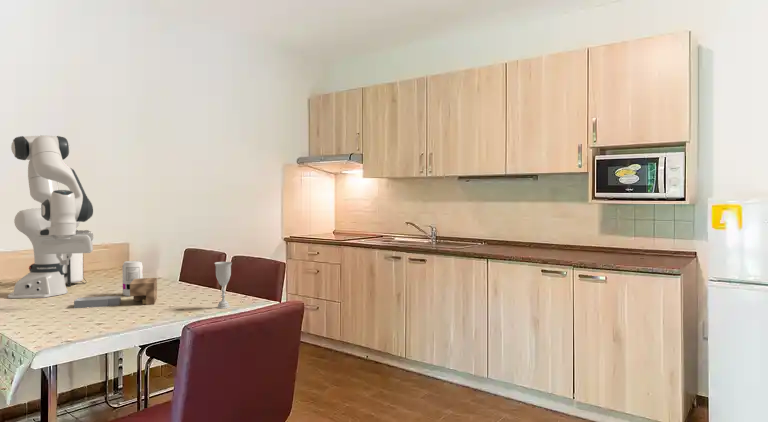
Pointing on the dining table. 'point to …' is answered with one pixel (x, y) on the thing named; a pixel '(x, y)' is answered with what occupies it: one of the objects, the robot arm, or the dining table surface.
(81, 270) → the coffee press
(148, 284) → the shelf block
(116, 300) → the board
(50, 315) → the dining table surface
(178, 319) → the dining table surface
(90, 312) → the dining table surface
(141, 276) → the supplement can
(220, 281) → the chalice
